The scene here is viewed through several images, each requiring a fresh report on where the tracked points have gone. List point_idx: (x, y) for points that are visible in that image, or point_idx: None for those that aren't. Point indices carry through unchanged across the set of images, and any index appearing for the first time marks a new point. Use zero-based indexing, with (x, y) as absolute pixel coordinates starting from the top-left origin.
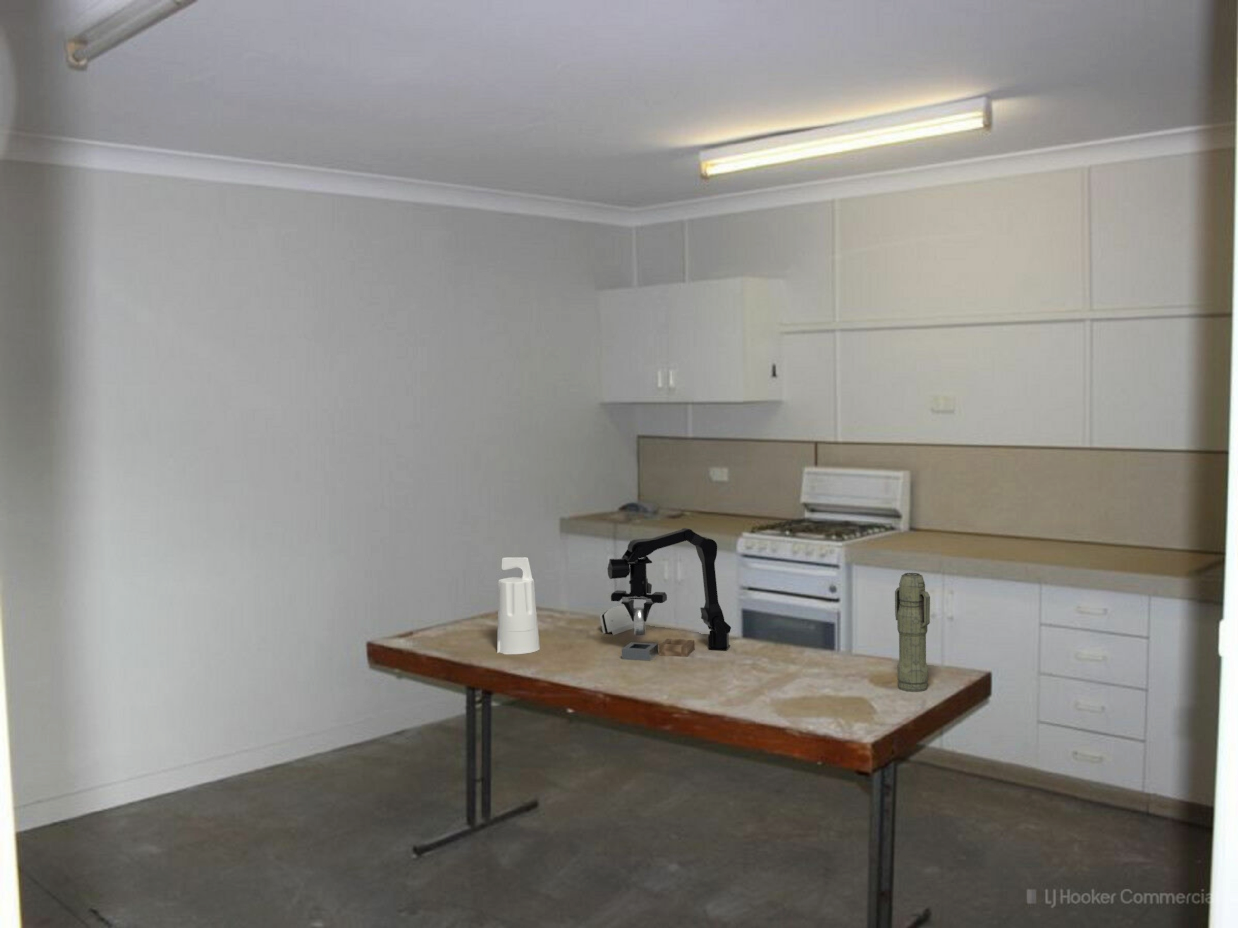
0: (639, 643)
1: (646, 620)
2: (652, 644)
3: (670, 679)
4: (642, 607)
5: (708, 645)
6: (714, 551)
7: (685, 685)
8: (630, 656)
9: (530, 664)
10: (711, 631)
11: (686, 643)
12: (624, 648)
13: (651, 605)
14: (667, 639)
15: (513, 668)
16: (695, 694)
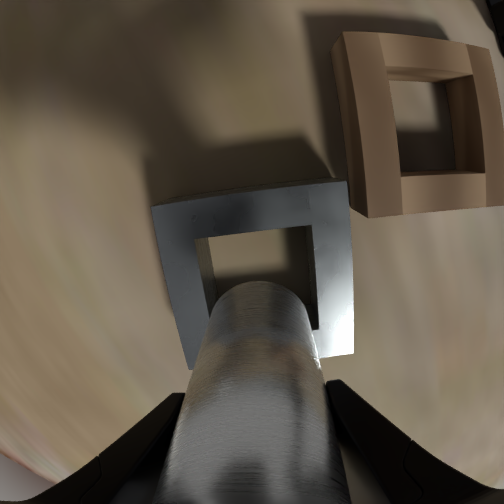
0: (221, 218)
1: (343, 384)
2: (319, 212)
3: (446, 456)
4: (279, 497)
5: (501, 33)
6: None
7: (475, 464)
8: None
9: (18, 430)
10: None
11: (488, 132)
12: (196, 355)
13: (489, 499)
14: (356, 53)
15: (24, 455)
16: (485, 482)
